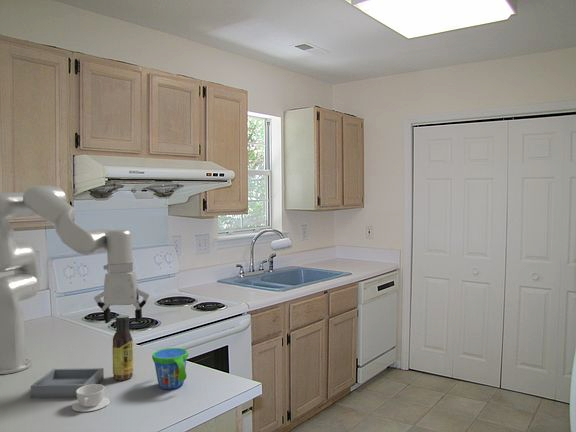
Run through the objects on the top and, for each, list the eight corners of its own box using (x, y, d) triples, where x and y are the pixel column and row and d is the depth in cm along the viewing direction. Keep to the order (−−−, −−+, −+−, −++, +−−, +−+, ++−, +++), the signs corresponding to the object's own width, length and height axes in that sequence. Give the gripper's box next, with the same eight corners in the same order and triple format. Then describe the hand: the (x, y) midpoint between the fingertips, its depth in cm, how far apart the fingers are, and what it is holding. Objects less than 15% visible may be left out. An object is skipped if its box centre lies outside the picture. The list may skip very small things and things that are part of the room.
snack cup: (146, 381, 157) (145, 349, 156) (178, 374, 163) (177, 343, 162) (163, 398, 144) (162, 363, 143) (197, 389, 150) (196, 356, 149)
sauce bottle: (127, 382, 156) (125, 319, 155) (109, 380, 158) (107, 318, 157) (137, 374, 163) (135, 314, 162) (120, 373, 164) (118, 313, 163)
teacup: (78, 398, 145) (78, 383, 144) (113, 397, 145) (113, 381, 145) (66, 414, 135) (65, 397, 134) (104, 412, 136) (103, 395, 135)
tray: (31, 397, 145) (30, 386, 145) (53, 379, 159) (53, 368, 159) (86, 397, 145) (85, 385, 145) (103, 378, 159) (103, 368, 159)
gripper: (88, 271, 155) (91, 325, 156) (144, 269, 155) (146, 323, 156) (97, 267, 162) (100, 319, 163) (150, 265, 162) (153, 317, 163)
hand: (123, 321), depth 159 cm, fingers open, 9 cm apart
